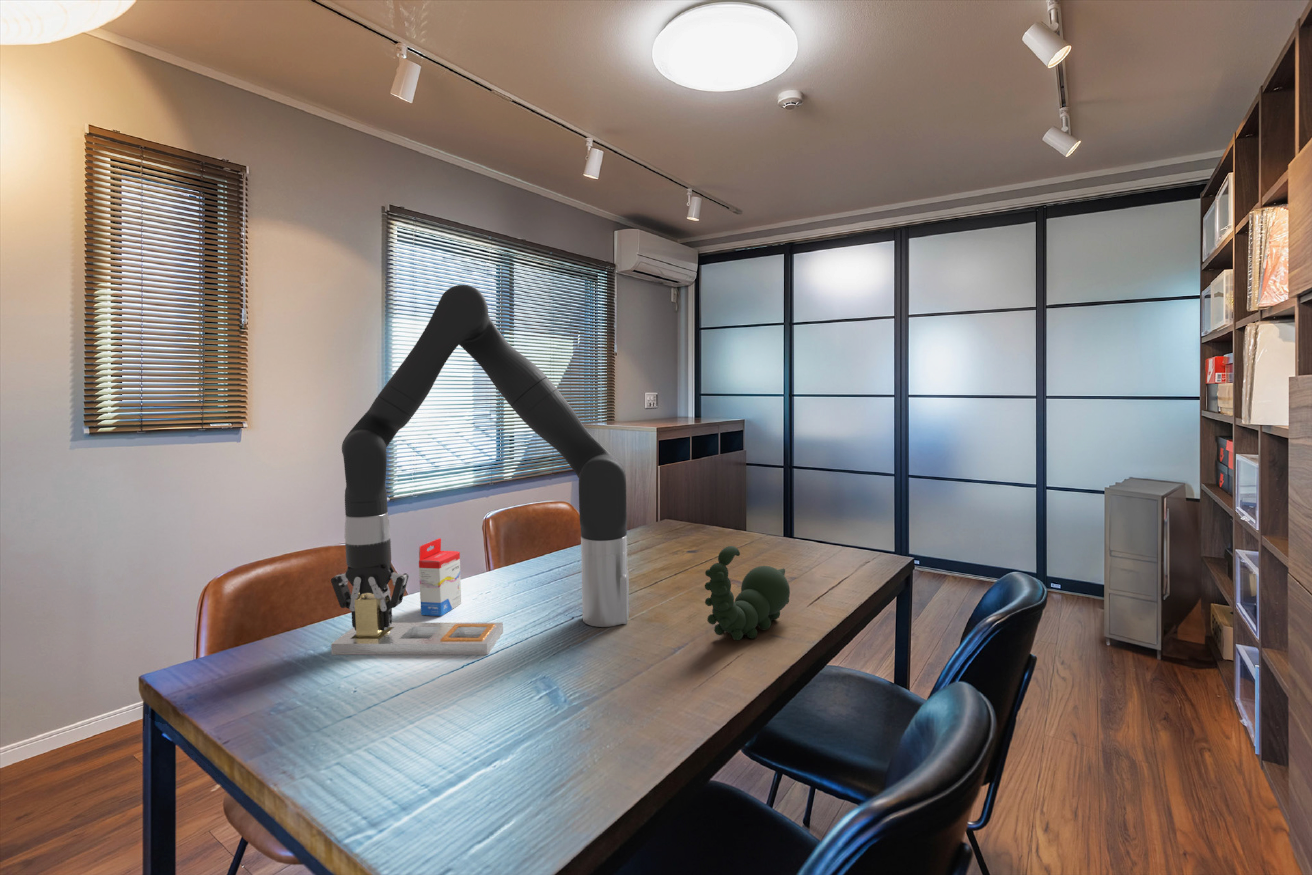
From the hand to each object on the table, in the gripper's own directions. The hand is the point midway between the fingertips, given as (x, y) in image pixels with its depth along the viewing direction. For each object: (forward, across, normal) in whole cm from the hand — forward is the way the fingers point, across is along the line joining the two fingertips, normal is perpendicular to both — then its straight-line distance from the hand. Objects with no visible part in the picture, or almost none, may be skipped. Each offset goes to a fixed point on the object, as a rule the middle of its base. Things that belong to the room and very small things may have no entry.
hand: (372, 628), depth 114 cm
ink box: (+3, -6, -18) cm, 19 cm away
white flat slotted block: (+3, -9, 0) cm, 9 cm away
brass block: (+3, 0, 0) cm, 3 cm away
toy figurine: (+3, -71, -7) cm, 71 cm away
